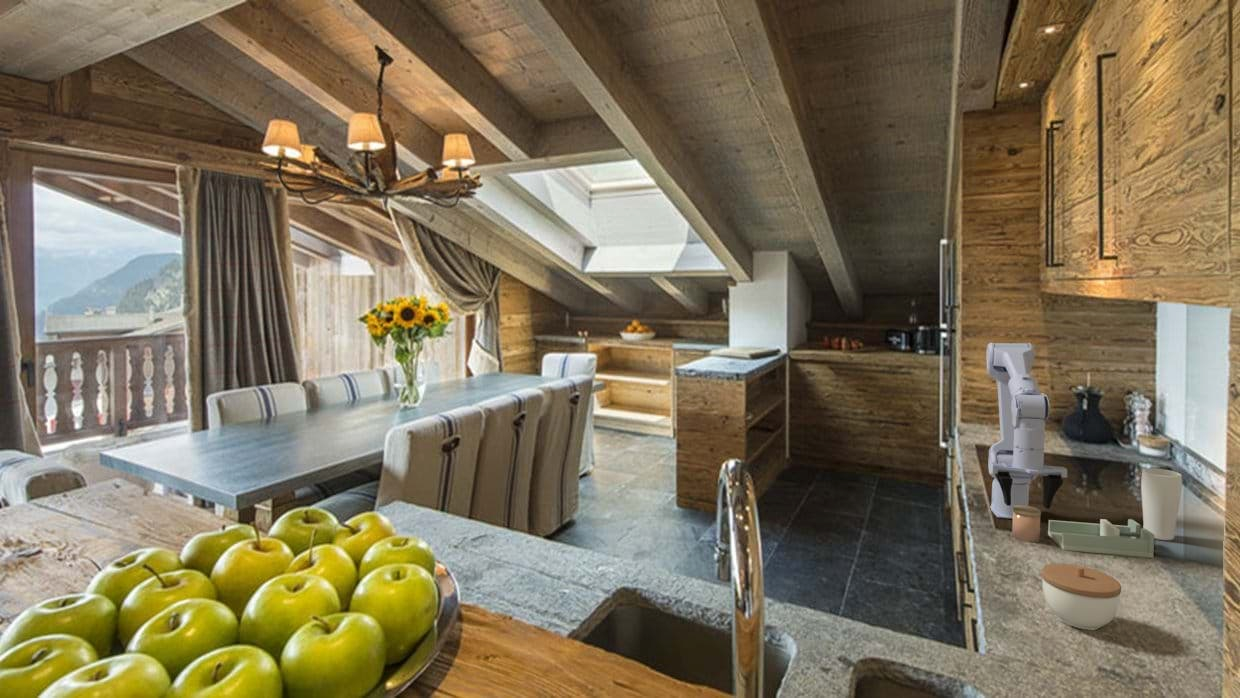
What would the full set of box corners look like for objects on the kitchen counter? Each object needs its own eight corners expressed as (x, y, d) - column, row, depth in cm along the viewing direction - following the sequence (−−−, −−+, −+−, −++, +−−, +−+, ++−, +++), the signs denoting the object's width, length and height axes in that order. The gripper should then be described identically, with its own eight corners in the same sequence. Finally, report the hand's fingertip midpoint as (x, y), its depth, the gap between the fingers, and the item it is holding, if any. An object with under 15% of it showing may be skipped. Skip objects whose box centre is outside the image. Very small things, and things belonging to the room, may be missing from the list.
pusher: (1099, 534, 134) (1100, 518, 134) (1142, 538, 132) (1143, 522, 132) (1113, 546, 128) (1114, 529, 128) (1158, 550, 126) (1159, 533, 126)
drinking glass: (1180, 545, 131) (1184, 478, 130) (1140, 538, 135) (1143, 473, 134) (1176, 535, 137) (1180, 471, 135) (1137, 528, 141) (1140, 466, 139)
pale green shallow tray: (1047, 534, 139) (1048, 513, 138) (1131, 541, 134) (1132, 519, 133) (1063, 549, 130) (1064, 527, 130) (1153, 557, 125) (1154, 534, 125)
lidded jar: (1042, 598, 109) (1044, 549, 109) (1118, 617, 103) (1121, 564, 102) (1037, 623, 101) (1039, 570, 100) (1119, 646, 94) (1122, 588, 94)
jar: (1008, 532, 140) (1009, 504, 140) (1035, 534, 139) (1036, 506, 138) (1015, 541, 135) (1016, 511, 135) (1043, 543, 134) (1044, 514, 133)
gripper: (997, 449, 134) (995, 508, 135) (1073, 453, 129) (1071, 514, 130) (988, 442, 140) (986, 498, 141) (1060, 445, 136) (1058, 503, 137)
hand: (1026, 505), depth 136 cm, fingers open, 7 cm apart
